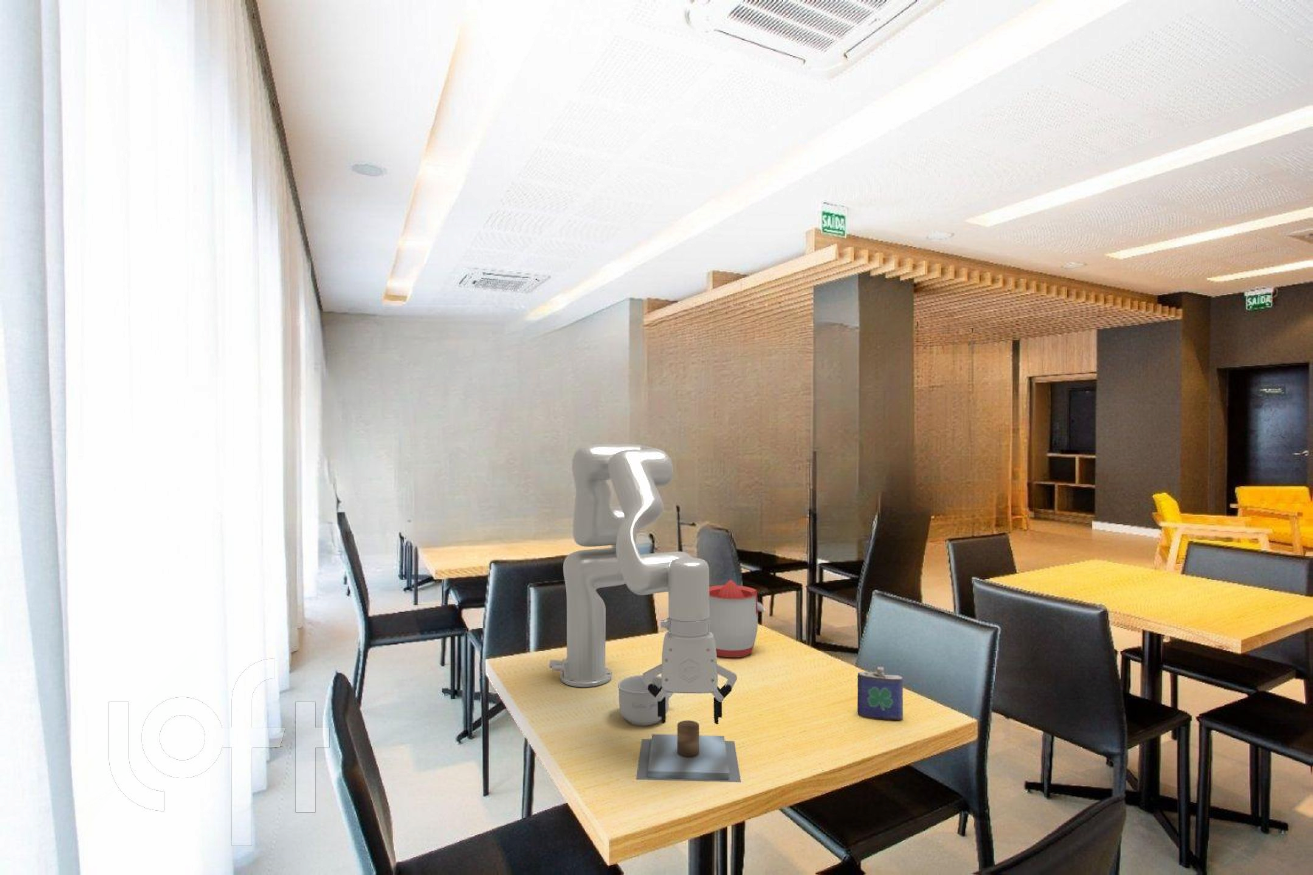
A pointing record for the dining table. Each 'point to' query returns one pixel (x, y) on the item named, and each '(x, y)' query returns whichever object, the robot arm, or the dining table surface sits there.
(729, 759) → the tray
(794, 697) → the dining table surface
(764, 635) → the dining table surface
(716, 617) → the citrus juicer
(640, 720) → the teacup
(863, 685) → the flask
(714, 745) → the lid
